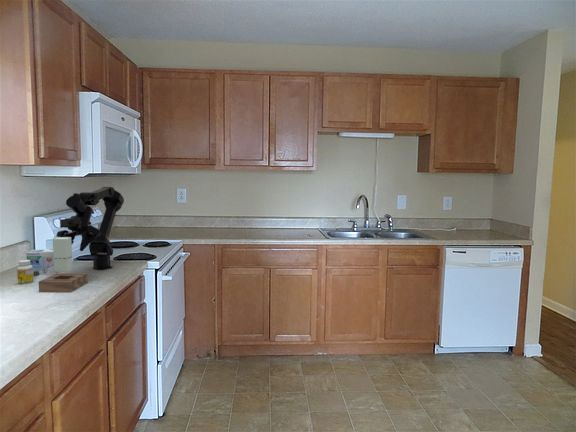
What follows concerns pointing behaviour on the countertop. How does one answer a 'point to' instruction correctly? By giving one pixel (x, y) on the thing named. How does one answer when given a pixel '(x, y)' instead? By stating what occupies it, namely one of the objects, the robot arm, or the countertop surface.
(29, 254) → the light bulb box
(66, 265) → the stub
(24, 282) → the supplement bottle
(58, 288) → the brown stepped stand
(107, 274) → the countertop surface
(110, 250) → the robot arm
